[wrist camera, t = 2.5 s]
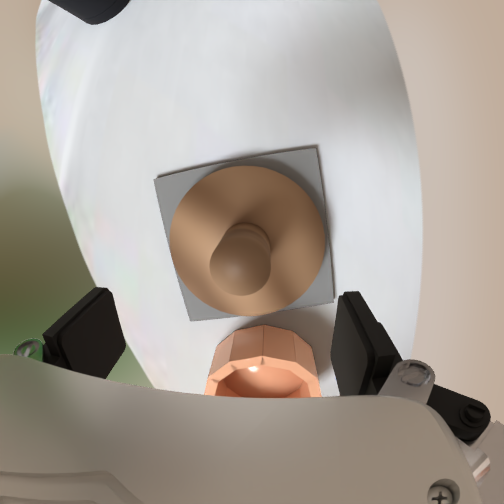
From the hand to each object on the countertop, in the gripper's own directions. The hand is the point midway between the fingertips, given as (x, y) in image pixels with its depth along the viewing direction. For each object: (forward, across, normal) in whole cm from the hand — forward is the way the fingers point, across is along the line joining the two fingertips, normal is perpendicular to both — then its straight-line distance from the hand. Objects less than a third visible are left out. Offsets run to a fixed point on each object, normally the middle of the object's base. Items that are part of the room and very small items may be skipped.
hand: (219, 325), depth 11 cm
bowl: (+14, -1, +15) cm, 21 cm away
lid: (+14, 0, +1) cm, 14 cm away
